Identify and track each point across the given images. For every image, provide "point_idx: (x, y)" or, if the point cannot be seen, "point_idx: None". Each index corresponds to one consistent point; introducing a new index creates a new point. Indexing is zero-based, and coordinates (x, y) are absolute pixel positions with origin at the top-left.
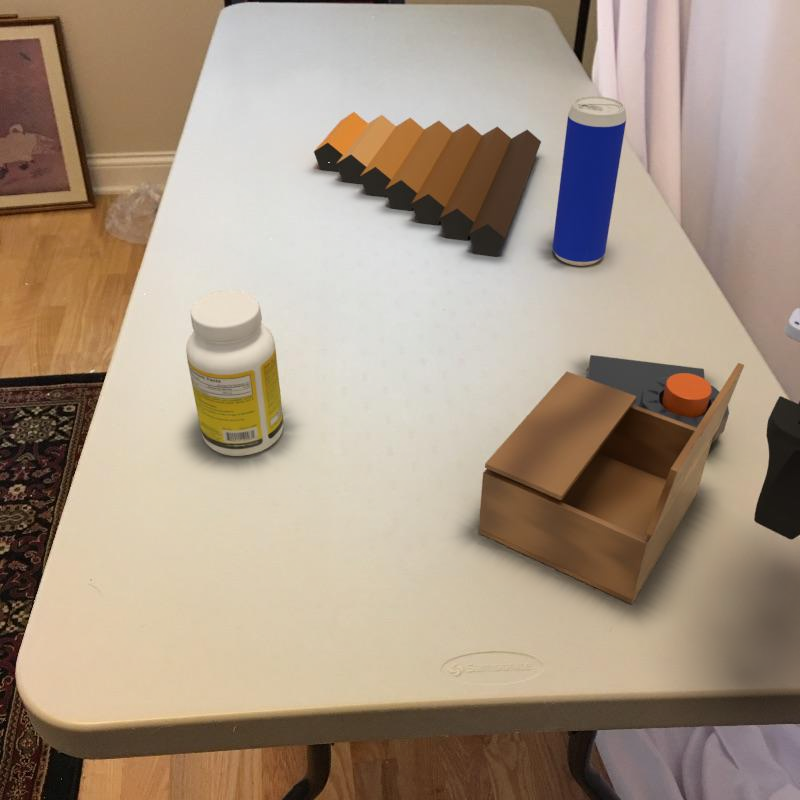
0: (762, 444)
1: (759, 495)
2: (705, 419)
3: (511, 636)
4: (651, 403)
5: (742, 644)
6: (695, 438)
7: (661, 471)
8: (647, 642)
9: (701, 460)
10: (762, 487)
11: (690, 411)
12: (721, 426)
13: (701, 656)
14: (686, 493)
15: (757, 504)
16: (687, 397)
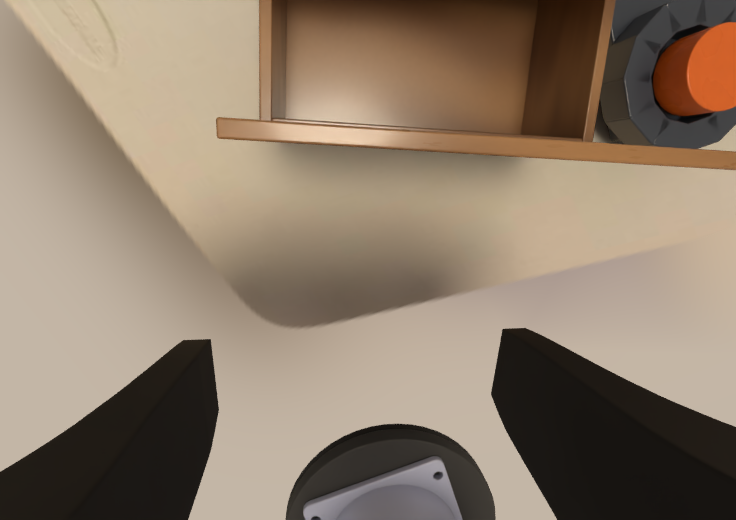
0: (657, 208)
1: (143, 373)
2: (470, 142)
3: (128, 5)
4: (668, 19)
5: (294, 277)
6: (378, 140)
7: (531, 93)
8: (231, 178)
9: None
10: (118, 393)
11: (666, 92)
12: None
13: (249, 241)
14: None
15: (159, 359)
16: (691, 75)
